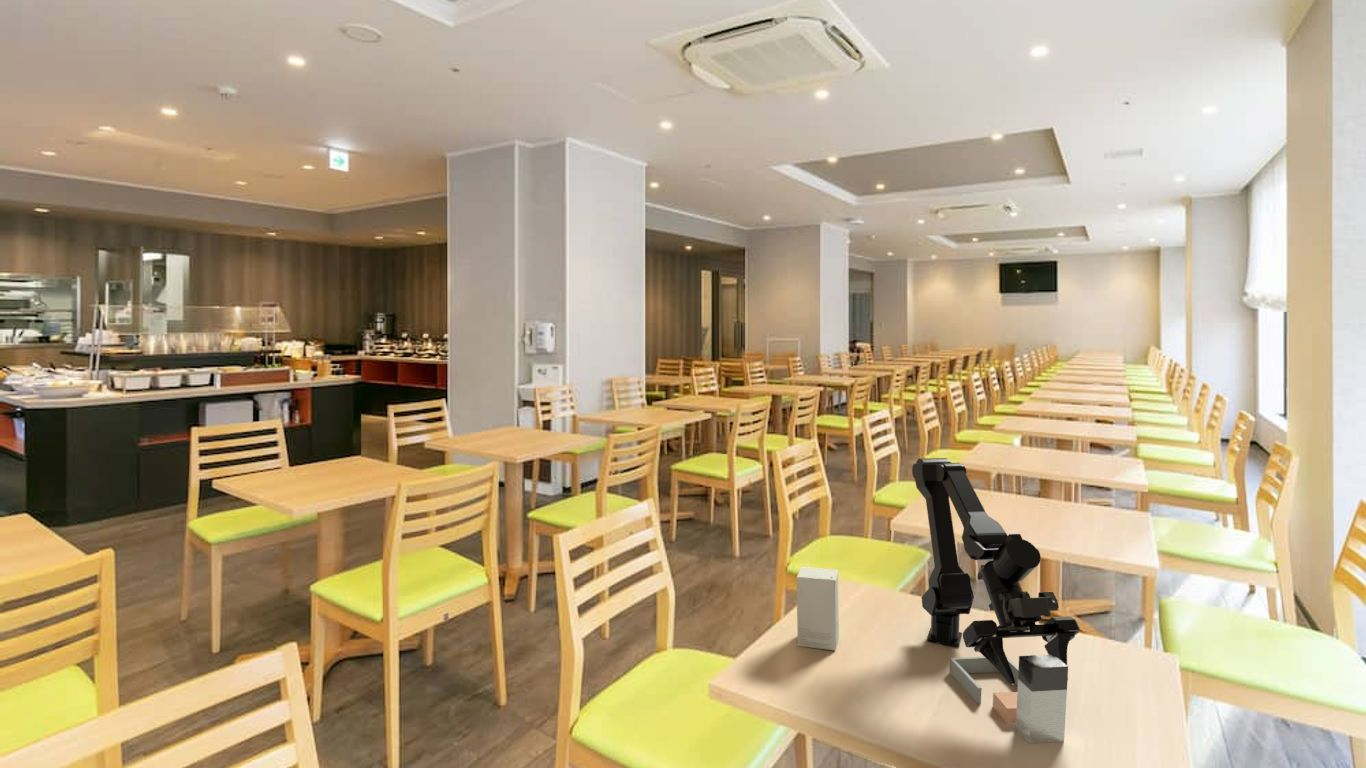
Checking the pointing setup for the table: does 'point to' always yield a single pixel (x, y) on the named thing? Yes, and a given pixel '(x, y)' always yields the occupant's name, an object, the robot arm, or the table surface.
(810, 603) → the skincare box
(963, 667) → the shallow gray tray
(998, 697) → the tan block
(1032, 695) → the gray capped pillar
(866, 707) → the table surface
